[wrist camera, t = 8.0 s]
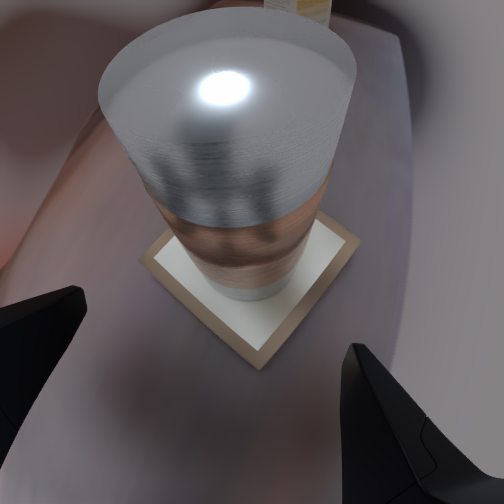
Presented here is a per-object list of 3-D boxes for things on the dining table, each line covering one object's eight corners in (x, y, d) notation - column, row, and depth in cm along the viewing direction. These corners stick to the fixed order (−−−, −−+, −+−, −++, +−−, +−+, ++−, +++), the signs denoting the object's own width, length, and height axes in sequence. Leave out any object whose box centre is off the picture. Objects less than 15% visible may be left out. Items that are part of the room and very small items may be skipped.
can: (223, 321, 16) (118, 203, 4) (183, 232, 18) (90, 53, 6) (318, 273, 17) (413, 94, 5) (270, 192, 19) (273, -4, 7)
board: (259, 369, 18) (259, 370, 15) (153, 273, 21) (137, 259, 18) (349, 256, 21) (362, 239, 18) (244, 180, 23) (241, 155, 20)
